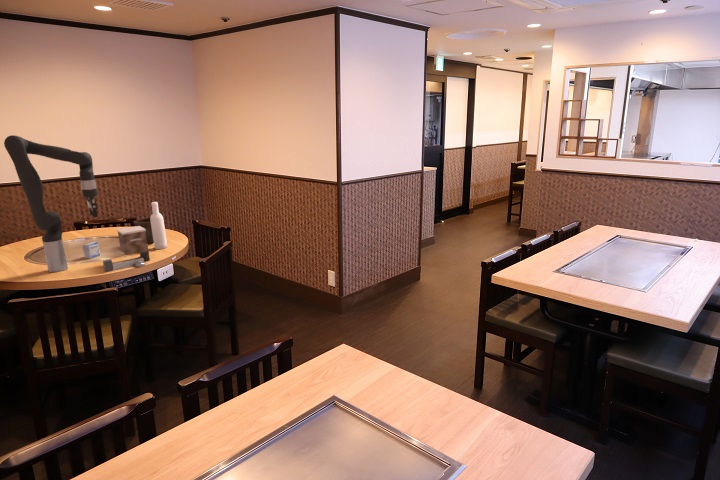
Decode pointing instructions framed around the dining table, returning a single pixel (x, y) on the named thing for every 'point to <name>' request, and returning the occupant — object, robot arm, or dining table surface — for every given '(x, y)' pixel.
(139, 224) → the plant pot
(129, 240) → the walnut cabinet
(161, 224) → the bottle
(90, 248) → the medicine box
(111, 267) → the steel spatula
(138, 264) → the steel token
